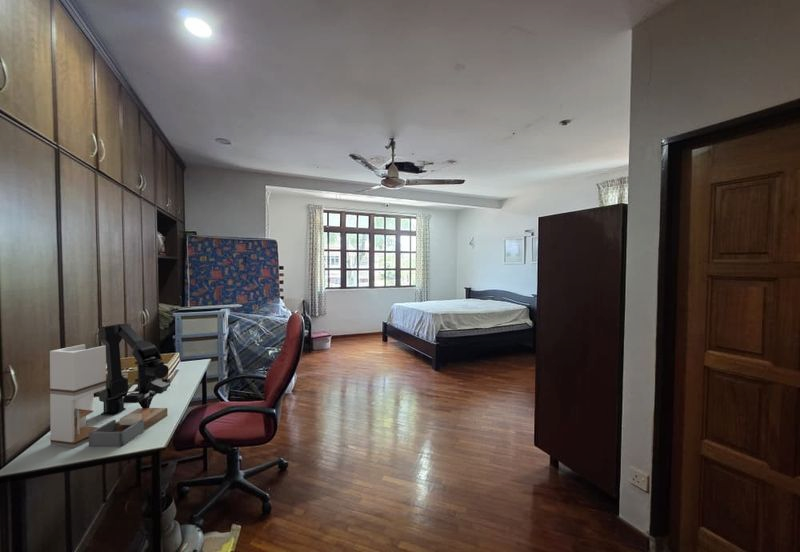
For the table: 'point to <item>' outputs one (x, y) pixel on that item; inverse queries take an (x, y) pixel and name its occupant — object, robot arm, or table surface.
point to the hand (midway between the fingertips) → (146, 411)
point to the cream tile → (130, 418)
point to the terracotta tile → (142, 411)
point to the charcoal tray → (114, 434)
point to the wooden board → (147, 419)
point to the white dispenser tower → (74, 392)
